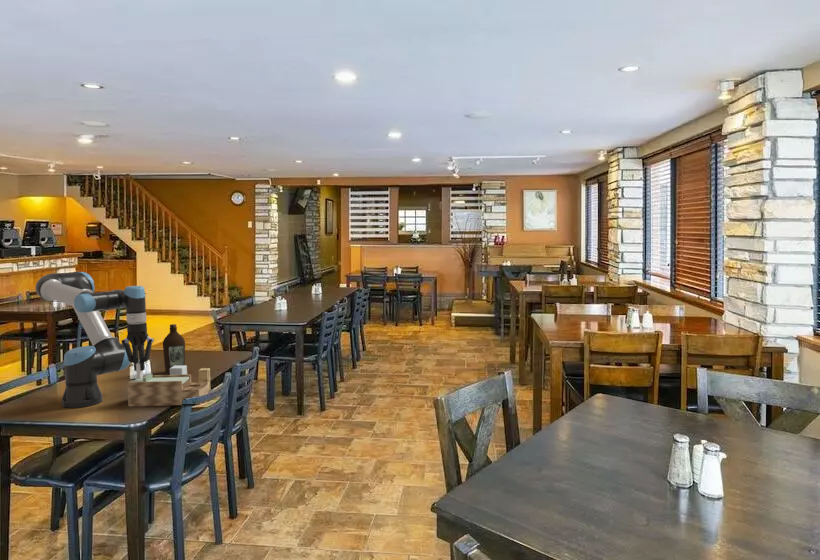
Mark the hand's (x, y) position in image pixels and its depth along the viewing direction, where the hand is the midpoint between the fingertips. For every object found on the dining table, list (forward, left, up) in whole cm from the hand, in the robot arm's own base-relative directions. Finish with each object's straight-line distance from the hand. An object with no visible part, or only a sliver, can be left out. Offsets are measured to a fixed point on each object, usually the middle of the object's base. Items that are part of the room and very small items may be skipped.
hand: (140, 378), depth 248 cm
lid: (+8, 0, -2) cm, 8 cm away
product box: (+4, +34, -11) cm, 36 cm away
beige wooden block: (+22, +15, -10) cm, 29 cm away
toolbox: (+12, 0, -10) cm, 16 cm away
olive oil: (-4, +52, -11) cm, 53 cm away
